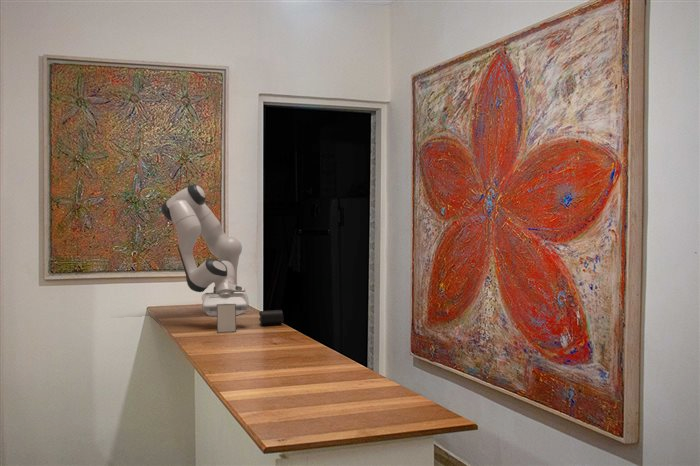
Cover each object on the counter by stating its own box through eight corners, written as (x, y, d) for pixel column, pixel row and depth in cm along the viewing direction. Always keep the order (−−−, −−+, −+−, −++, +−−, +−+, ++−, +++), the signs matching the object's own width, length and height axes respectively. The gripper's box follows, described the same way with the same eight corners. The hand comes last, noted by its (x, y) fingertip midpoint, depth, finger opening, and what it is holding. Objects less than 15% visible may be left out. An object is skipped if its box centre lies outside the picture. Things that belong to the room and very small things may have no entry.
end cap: (261, 327, 327) (261, 312, 327) (258, 324, 334) (258, 310, 333) (283, 325, 330) (283, 310, 330) (280, 323, 337) (279, 308, 337)
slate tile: (217, 332, 315) (216, 304, 315) (236, 331, 317) (235, 303, 316) (217, 332, 313) (216, 304, 313) (236, 332, 315) (235, 304, 314)
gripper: (201, 288, 325) (201, 313, 316) (248, 287, 328) (249, 312, 319) (202, 297, 330) (201, 322, 320) (248, 296, 333) (248, 320, 324)
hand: (225, 317), depth 320 cm, fingers closed
